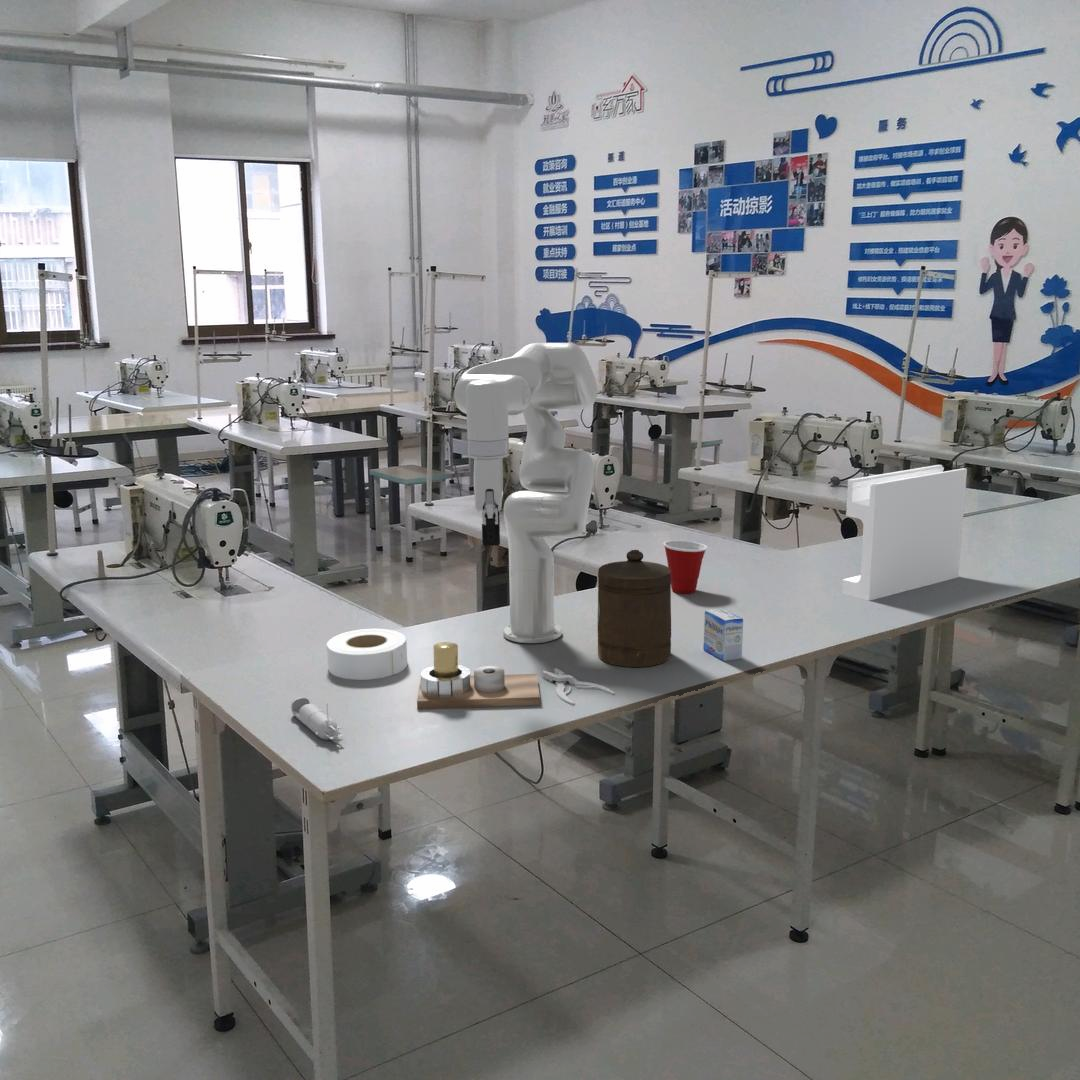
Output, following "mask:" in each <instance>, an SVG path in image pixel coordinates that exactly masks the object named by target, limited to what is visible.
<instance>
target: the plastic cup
mask: <svg viewBox="0 0 1080 1080" xmlns="http://www.w3.org/2000/svg"><path fill="white" fill-rule="evenodd" d="M663 546H664V549H665V556H666V562H667V567H668V568H669V569H670V570H671V590H672V592H673V593H675V594H679V595H688V594H694V593H695V592H696V590H697V587H698V581H699V580H698V579H699V576H700V572H701V568H702V563H703V558H704V556H705V554H706V551H707V550H708V548H709V546H707V545H706V544H703V543H700V542H697V541H688V540H680V539H678V540H676V539H674V540H667V541H666V540H665V541H664V542H663Z"/></svg>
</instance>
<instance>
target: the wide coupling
mask: <svg viewBox="0 0 1080 1080" xmlns="http://www.w3.org/2000/svg"><path fill="white" fill-rule="evenodd" d="M470 676H471V669H470V668H468V667H466V666H464V665H460V664H458V676H457V677H453V678H443V679H440V678H434V665H433V666H428V667H426V668H424V669H422V670H421V672H420V679H421V691H422V692H423V693H425V694H426V695H429V696H434V697H451V696H452V697H454V696H458V695H462V694H465V693H466V692H468V691H469V690H470V689H471V681H470Z"/></svg>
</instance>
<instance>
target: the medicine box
mask: <svg viewBox="0 0 1080 1080" xmlns="http://www.w3.org/2000/svg"><path fill="white" fill-rule="evenodd" d="M743 633H744V619H743V618H742V617H740V616H738V615H736V614H734V613H732V612H730V611H728V610H726V609H724V608H711V609H708V610H707V609H706V610H704V625H703V645H702V648H703V649H702V650H703V651H704V652H705V653H708V654H710V655H712V656H714V657H715V658H717V659H719V660H721V661H723V662H728V661H729V662H730V661H736V660H740V659H742V658H743V639H744V638H743Z"/></svg>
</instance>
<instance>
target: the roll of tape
mask: <svg viewBox="0 0 1080 1080" xmlns="http://www.w3.org/2000/svg"><path fill="white" fill-rule="evenodd" d="M407 645H408V644H407V638H406V636H405V635H404V633H401V632H400V631H397V630H393V629H389V628H361V629H355V630H349V631H346V632H342V633H340V634H337V635H335V636H333V637H331V638H330V639H329V640H328V641H327V642H326V653H327V667H328V672H329V673H330V674H331V675H333V676H334V677H337V678H340V679H346V680H353V681H354V680H356V681H357V680H358V681H360V680H362V681H366V680H375V679H376V680H377V679H382V678H387V677H390V676H395V675H397V674H399V673H401V672H403V671H404V670H405V669H406V667H407V666H408V647H407Z"/></svg>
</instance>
